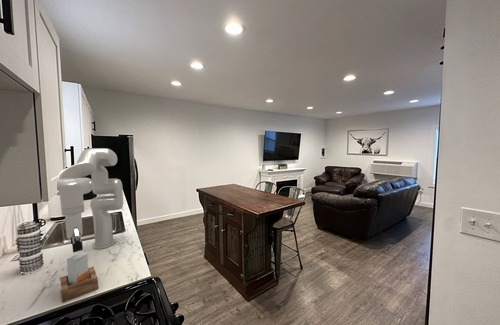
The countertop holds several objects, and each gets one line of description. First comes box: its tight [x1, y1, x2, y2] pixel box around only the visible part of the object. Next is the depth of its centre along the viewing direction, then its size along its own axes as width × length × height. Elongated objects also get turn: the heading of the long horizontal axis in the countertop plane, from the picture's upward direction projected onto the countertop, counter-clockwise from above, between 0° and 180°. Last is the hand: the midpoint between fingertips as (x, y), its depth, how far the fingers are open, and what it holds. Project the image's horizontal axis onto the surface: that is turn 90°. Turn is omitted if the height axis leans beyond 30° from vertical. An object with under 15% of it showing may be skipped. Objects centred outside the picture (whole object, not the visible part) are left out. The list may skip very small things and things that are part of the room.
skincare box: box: [66, 251, 89, 285], centre depth 92 cm, size 6×4×12 cm
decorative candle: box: [15, 221, 45, 275], centre depth 106 cm, size 9×9×25 cm
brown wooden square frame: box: [59, 266, 99, 304], centre depth 93 cm, size 12×12×5 cm
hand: (76, 246), depth 92 cm, fingers open, 9 cm apart
